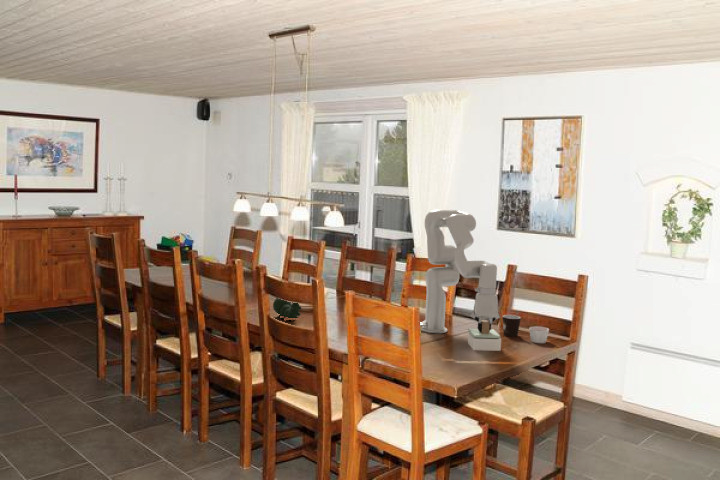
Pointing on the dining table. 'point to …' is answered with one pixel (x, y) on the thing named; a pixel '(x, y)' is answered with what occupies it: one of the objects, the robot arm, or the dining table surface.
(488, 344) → the box
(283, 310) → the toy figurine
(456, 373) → the dining table surface
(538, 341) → the light grey bowl
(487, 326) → the lid
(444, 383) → the dining table surface
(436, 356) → the dining table surface
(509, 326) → the coffee mug
